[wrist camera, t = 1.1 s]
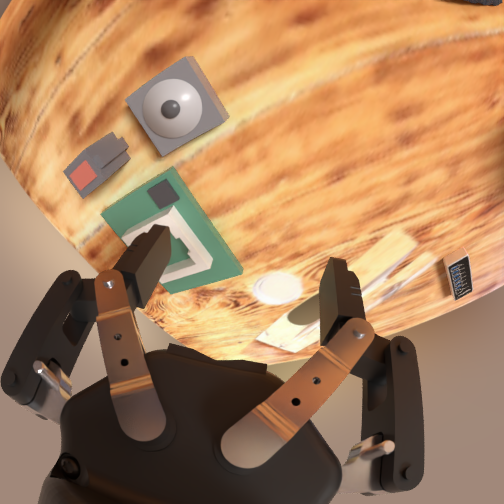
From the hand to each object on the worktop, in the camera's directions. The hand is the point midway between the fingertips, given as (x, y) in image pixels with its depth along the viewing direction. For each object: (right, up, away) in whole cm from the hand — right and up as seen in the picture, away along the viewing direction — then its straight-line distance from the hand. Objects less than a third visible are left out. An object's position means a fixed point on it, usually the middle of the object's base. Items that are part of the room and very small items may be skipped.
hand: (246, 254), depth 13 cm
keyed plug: (-18, +13, +16) cm, 28 cm away
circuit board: (-11, +2, +25) cm, 27 cm away
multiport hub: (+35, -3, +23) cm, 43 cm away
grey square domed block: (-7, +16, +12) cm, 21 cm away
